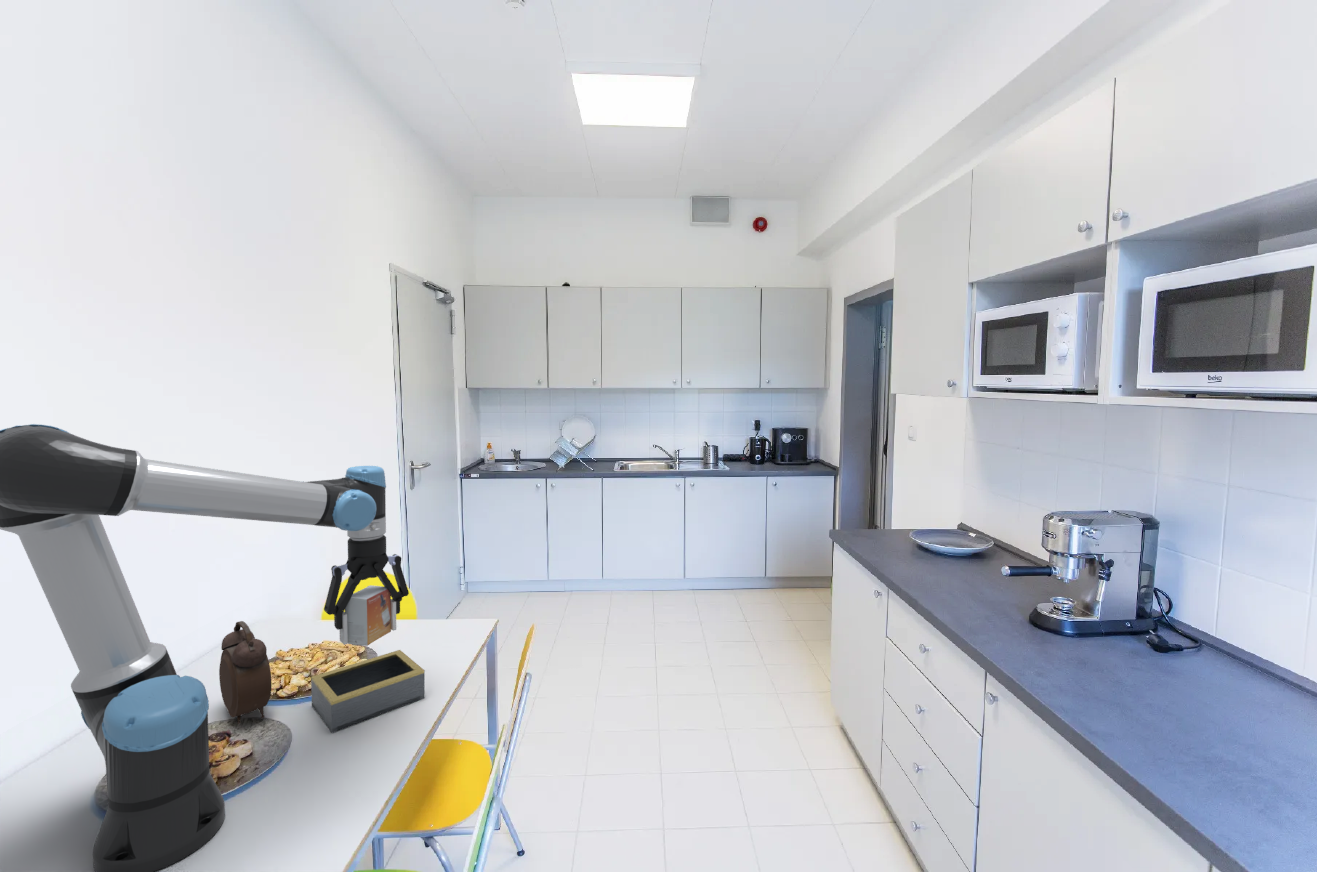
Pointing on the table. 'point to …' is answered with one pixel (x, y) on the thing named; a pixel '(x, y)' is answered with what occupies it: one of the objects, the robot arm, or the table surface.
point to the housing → (366, 689)
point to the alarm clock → (244, 673)
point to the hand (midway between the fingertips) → (368, 634)
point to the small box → (368, 615)
